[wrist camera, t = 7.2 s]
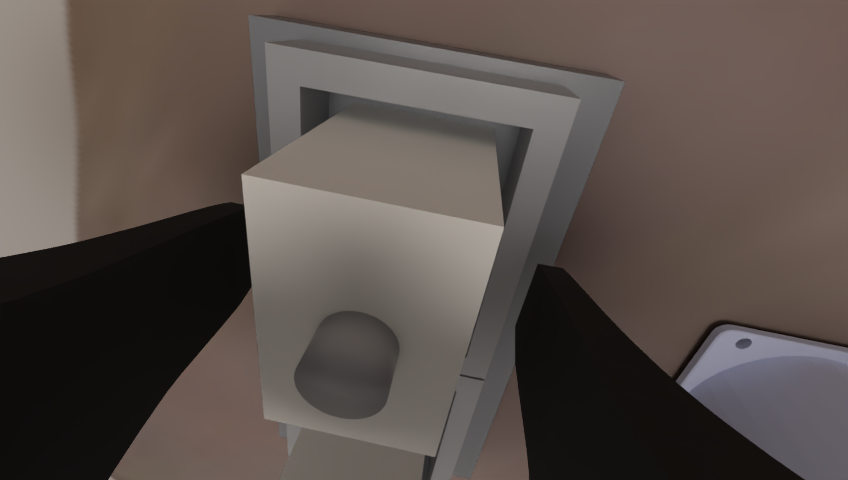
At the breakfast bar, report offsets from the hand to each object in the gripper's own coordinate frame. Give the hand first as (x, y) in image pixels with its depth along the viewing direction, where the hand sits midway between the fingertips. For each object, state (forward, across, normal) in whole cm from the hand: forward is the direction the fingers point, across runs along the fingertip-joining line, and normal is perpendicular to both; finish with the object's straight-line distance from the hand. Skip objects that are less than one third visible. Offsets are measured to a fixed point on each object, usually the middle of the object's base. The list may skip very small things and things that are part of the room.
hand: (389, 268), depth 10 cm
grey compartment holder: (+5, 0, +5) cm, 7 cm away
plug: (+3, 0, 0) cm, 3 cm away
